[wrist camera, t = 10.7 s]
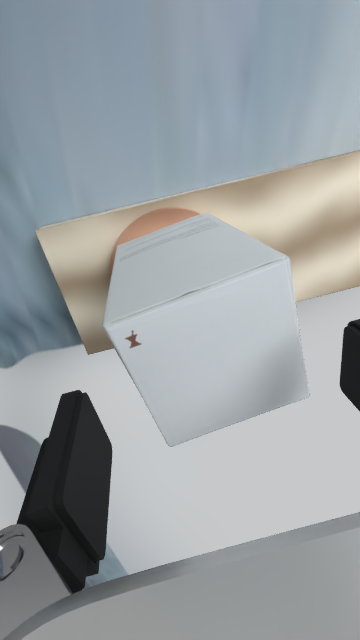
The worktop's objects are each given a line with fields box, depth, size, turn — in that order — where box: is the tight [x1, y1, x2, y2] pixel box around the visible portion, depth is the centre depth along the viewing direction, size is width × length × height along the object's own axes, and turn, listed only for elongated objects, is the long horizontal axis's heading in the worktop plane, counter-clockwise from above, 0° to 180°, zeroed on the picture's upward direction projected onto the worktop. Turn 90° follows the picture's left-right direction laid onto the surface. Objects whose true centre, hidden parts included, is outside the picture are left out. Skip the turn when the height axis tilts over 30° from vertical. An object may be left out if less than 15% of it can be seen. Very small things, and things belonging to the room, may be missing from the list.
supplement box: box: [102, 212, 310, 447], centre depth 18 cm, size 7×7×13 cm
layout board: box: [35, 150, 360, 355], centre depth 25 cm, size 11×26×3 cm, turn 102°
